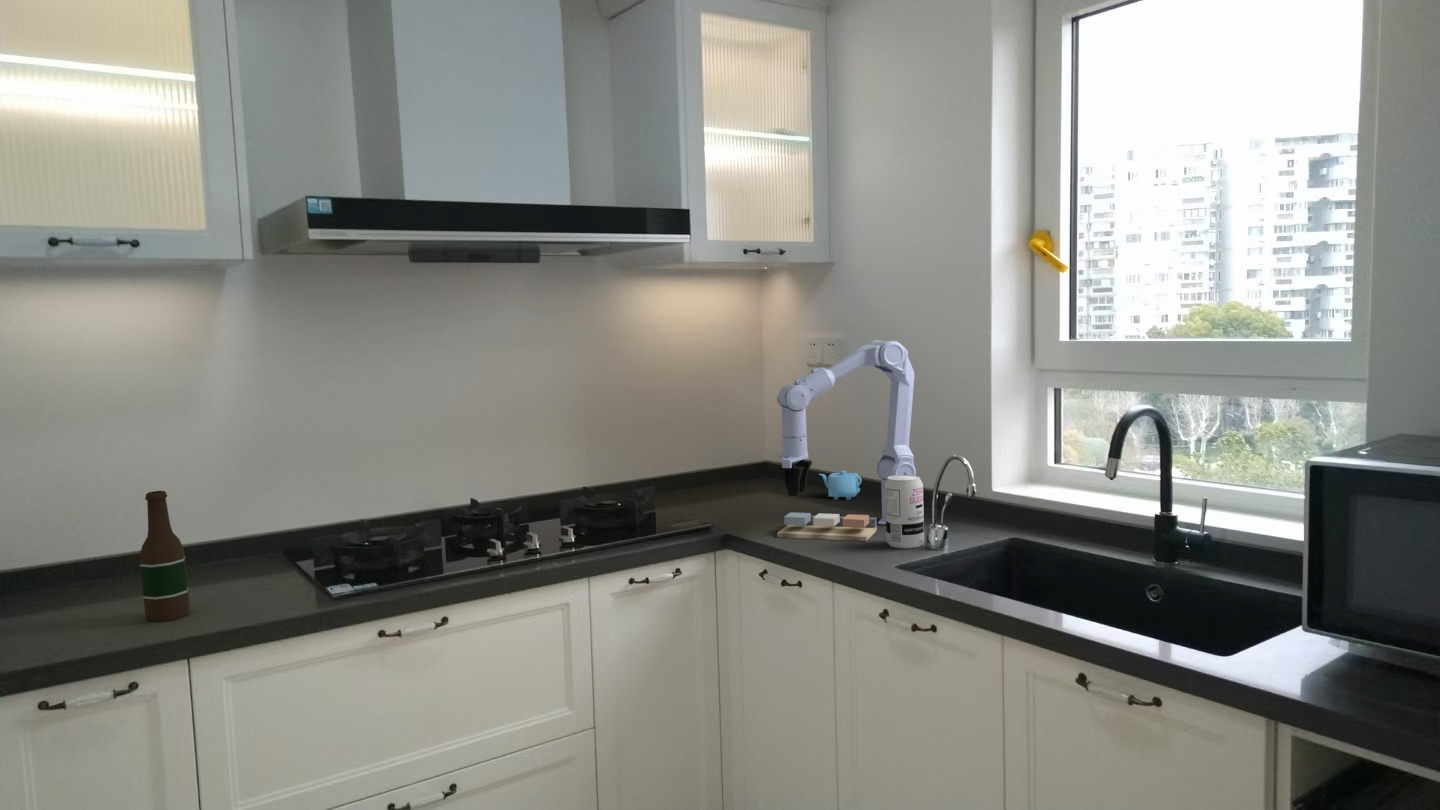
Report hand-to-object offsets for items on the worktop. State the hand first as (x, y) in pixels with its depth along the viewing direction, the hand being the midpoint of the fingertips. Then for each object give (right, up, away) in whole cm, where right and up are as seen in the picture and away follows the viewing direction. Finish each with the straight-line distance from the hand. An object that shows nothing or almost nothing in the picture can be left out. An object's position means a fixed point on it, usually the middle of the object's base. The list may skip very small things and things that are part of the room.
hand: (796, 493), depth 234 cm
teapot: (+15, -5, +41) cm, 44 cm away
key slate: (0, -7, +1) cm, 7 cm away
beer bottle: (-123, -20, -45) cm, 132 cm away
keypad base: (+7, -9, -1) cm, 12 cm away
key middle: (+7, -7, -2) cm, 10 cm away
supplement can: (+23, -10, -15) cm, 29 cm away
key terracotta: (+13, -7, -4) cm, 16 cm away
